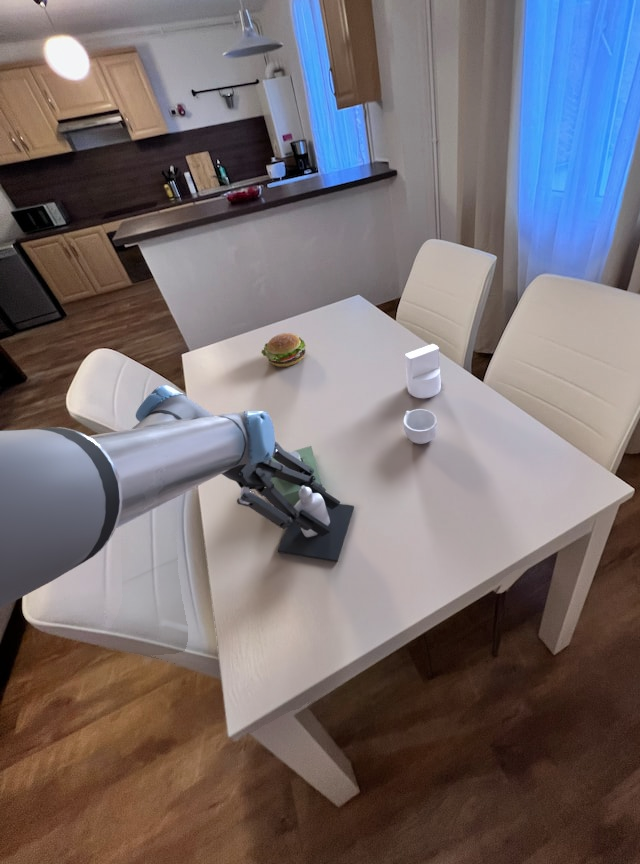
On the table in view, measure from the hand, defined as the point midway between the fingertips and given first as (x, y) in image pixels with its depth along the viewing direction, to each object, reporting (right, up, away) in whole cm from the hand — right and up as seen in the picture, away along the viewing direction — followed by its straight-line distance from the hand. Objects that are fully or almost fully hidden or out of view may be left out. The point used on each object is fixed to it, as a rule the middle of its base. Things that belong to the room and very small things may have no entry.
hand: (331, 518), depth 76 cm
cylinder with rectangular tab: (+23, +24, +35) cm, 49 cm away
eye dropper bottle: (-3, -3, +3) cm, 5 cm away
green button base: (-8, +3, +14) cm, 16 cm away
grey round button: (-9, +8, +11) cm, 16 cm away
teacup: (+20, +13, +21) cm, 32 cm away
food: (-19, +34, +59) cm, 70 cm away
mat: (-3, -3, +3) cm, 6 cm away
